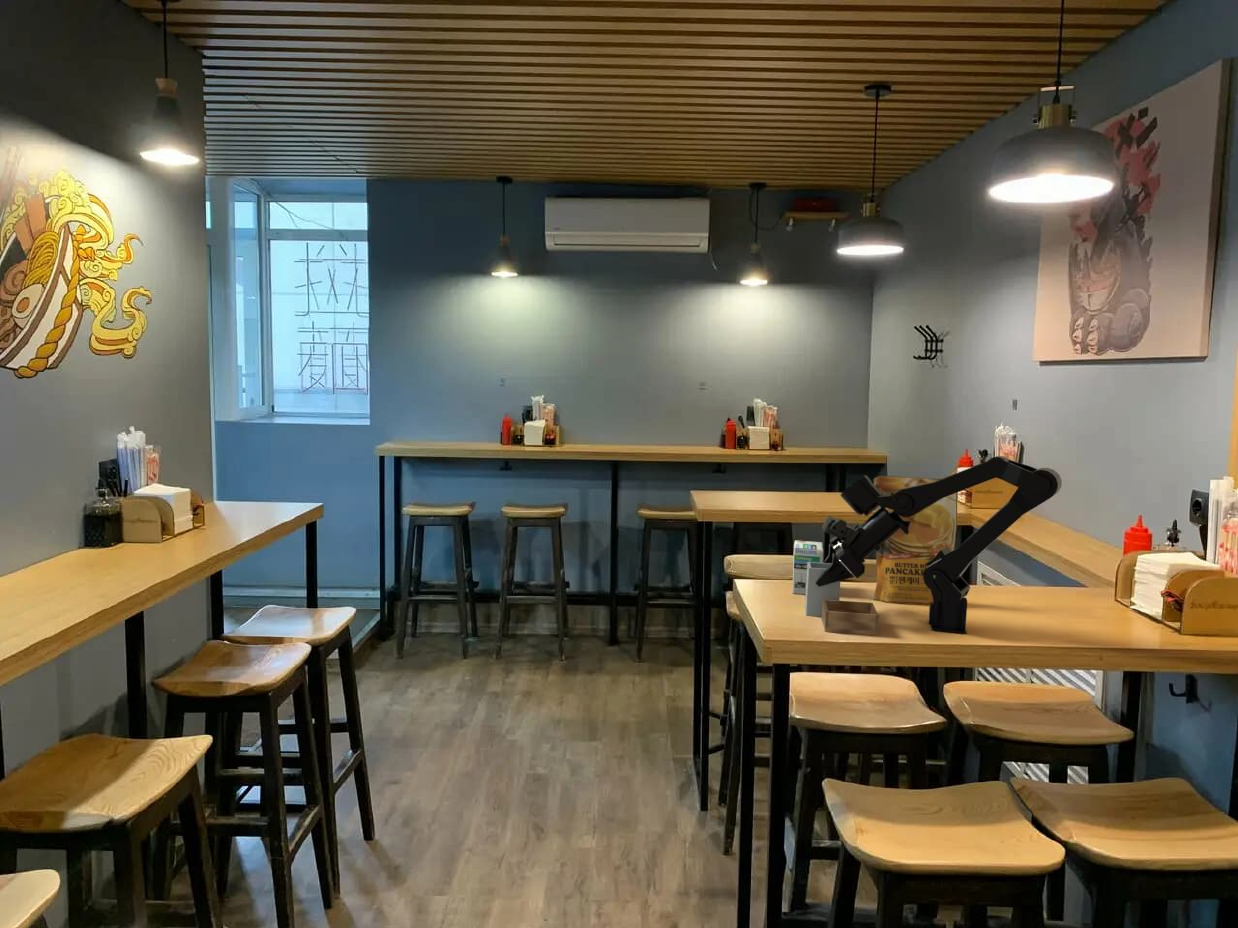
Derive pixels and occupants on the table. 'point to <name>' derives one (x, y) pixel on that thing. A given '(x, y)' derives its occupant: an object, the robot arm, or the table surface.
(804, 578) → the light bulb box
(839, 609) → the walnut crate
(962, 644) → the table surface
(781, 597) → the table surface
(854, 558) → the robot arm
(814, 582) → the grey crate
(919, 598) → the pancake mix bag
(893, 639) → the table surface
